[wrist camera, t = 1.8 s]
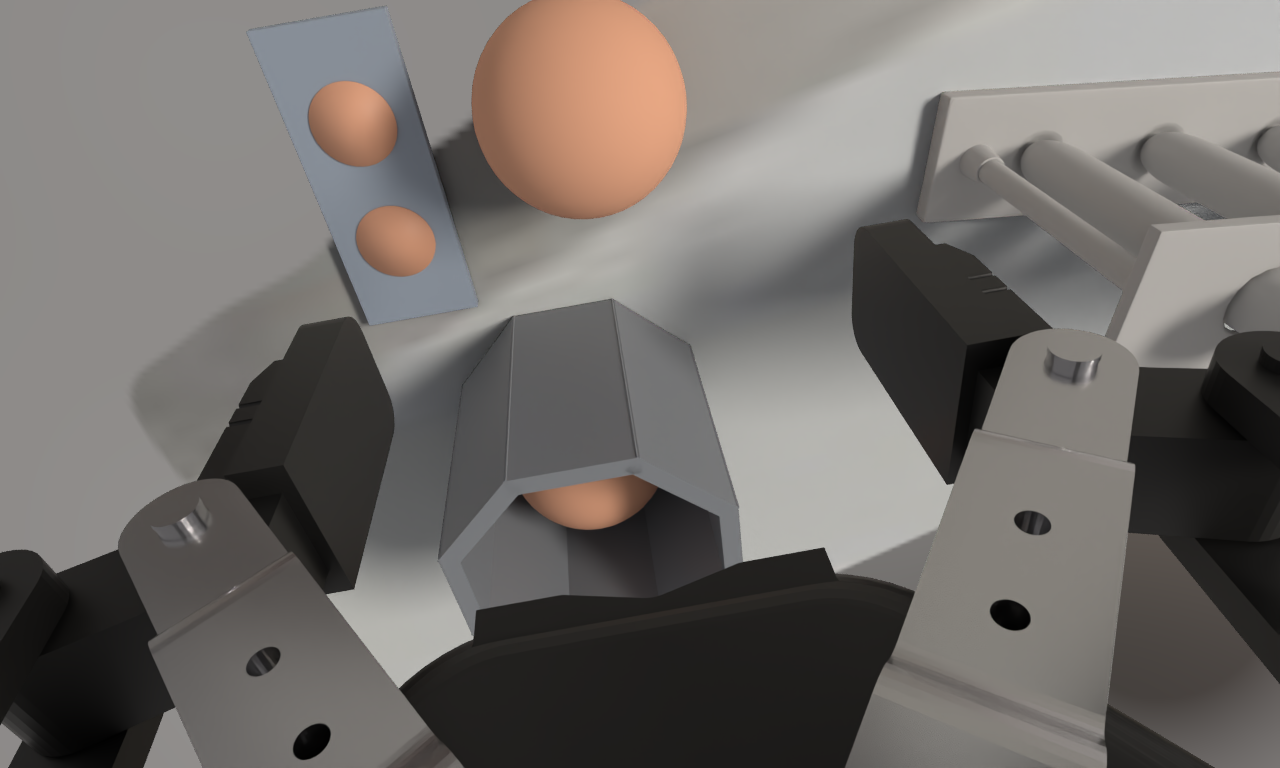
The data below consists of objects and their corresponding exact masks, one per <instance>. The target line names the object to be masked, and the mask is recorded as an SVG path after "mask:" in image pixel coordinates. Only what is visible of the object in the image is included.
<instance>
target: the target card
mask: <svg viewBox="0 0 1280 768" xmlns="http://www.w3.org/2000/svg"><path fill="white" fill-rule="evenodd" d="M246 33H247V35H248V37H249V40H250V42H251V45H252V47H253V49H254V52H255V54H256V57H257V59H258V61H259V64H260V66H261V68H262V71H263V73H264V76H265V78H266V80H267V83H268V85H269V88H270V90H271V92H272V95H273V97H274V99H275V102H276V104H277V106H278V109H279V111H280V113H281V116H282V118H283V121H284V123H285V125H286V128H287V130H288V133H289V135H290V137H291V140H292V142H293V145H294V147H295V149H296V152H297V154H298V156H299V159H300V161H301V164H302V166H303V168H304V171H305V173H306V175H307V178H308V180H309V183H310V185H311V187H312V189H313V192H314V194H315V197H316V199H317V202H318V204H319V206H320V209H321V211H322V213H323V216H324V218H325V221H326V223H327V225H328V228H329V230H330V233H331V235H332V237H333V240H334V242H335V244H336V247H337V249H338V252H339V254H340V256H341V259H342V261H343V263H344V266H345V268H346V271H347V273H348V275H349V278H350V280H351V282H352V285H353V287H354V290H355V292H356V294H357V297H358V299H359V301H360V304H361V306H362V309H363V311H364V313H365V316H366V318H367V320H368V323H369V325H376V324H382V323H387V322H393V321H399V320H404V319H410V318H416V317H421V316H427V315H433V314H438V313H444V312H450V311H455V310H461V309H467V308H472V307H478V298H477V295H476V292H475V289H474V286H473V282H472V279H471V276H470V273H469V269H468V266H467V263H466V260H465V256H464V253H463V250H462V247H461V244H460V240H459V237H458V234H457V231H456V227H455V224H454V221H453V218H452V214H451V211H450V208H449V205H448V202H447V198H446V195H445V192H444V189H443V185H442V182H441V179H440V176H439V172H438V169H437V166H436V163H435V160H434V156H433V153H432V150H431V147H430V143H429V140H428V137H427V134H426V130H425V127H424V124H423V121H422V118H421V114H420V111H419V108H418V105H417V102H416V99H415V95H414V92H413V89H412V85H411V82H410V79H409V76H408V72H407V69H406V66H405V63H404V60H403V56H402V53H401V50H400V47H399V44H398V40H397V37H396V34H395V30H394V27H393V24H392V21H391V18H390V14H389V11H388V8H387V6H382V7H375V8H369V9H364V10H358V11H352V12H346V13H340V14H335V15H329V16H323V17H317V18H312V19H306V20H300V21H294V22H288V23H283V24H277V25H271V26H265V27H260V28H255V29H250V30H249V31H247V32H246Z"/></svg>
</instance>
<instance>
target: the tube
mask: <svg viewBox="0 0 1280 768" xmlns="http://www.w3.org/2000/svg"><path fill="white" fill-rule="evenodd" d="M627 475H635V476H637V477H639V478H641V479H643V480H645V481H647V482H649V483H651V484H653V485H655V486H657V487H658V488H657V490H656V492H655V493H654V495H653V496H652V498H651V499H650V500H649V501H648V502H647V503H646V505H645V506H644V507H643V508H642V509H641V510H640V511H638V512H637V513H636V514H634V515H633V516H631V517H630V518H628V519H627V520H625V521H623V522H621V523H619V524H616V525H613V526H610V527H606V528H602V529H593V530H583V529H574V528H569V527H566V526H563V525H560V524H557V523H555V522H553V521H551V520H549V519H547V518H546V517H544V516H543V515H541V514H540V513H539V512H538V511H537V510H535V509H534V508H533V507H532V506H531V505H530V504H529V502H528V501H527V500H526V499H525V498H524V496H523V495H522V494H526V493H532V492H538V491H543V490H549V489H554V488H560V487H566V486H571V485H577V484H583V483H588V482H594V481H599V480H605V479H611V478H616V477H622V476H627ZM738 509H739V505H738V501H737V498H736V495H735V491H734V488H733V485H732V481H731V478H730V475H729V472H728V468H727V465H726V462H725V458H724V455H723V452H722V448H721V445H720V442H719V438H718V435H717V432H716V428H715V425H714V422H713V418H712V415H711V412H710V408H709V405H708V402H707V398H706V395H705V392H704V388H703V385H702V382H701V378H700V375H699V372H698V368H697V365H696V362H695V359H694V355H693V352H692V349H691V346H690V344H687V343H685V342H684V341H682V340H680V339H679V338H677V337H675V336H674V335H672V334H670V333H669V332H667V331H665V330H664V329H662V328H660V327H659V326H657V325H655V324H654V323H652V322H650V321H649V320H647V319H645V318H644V317H642V316H640V315H639V314H637V313H635V312H634V311H632V310H630V309H629V308H627V307H625V306H624V305H622V304H620V303H619V302H617V301H615V300H614V299H610V300H604V301H599V302H593V303H587V304H582V305H576V306H570V307H565V308H559V309H553V310H548V311H542V312H536V313H531V314H525V315H519V316H513V317H512V319H511V320H510V322H509V323H508V324H507V326H506V327H505V328H504V330H503V331H502V333H501V334H500V335H499V337H498V338H497V339H496V341H495V342H494V343H493V345H492V346H491V348H490V349H489V350H488V352H487V353H486V354H485V356H484V357H483V358H482V360H481V361H480V362H479V364H478V365H477V367H476V368H475V369H474V371H473V372H472V373H471V375H470V376H469V377H468V379H467V380H466V382H465V383H464V384H463V385H462V391H461V398H460V405H459V412H458V419H457V426H456V434H455V441H454V448H453V455H452V462H451V469H450V477H449V484H448V491H447V498H446V505H445V512H444V519H443V527H442V534H441V541H440V548H439V555H438V562H439V563H440V565H441V568H442V570H443V572H444V574H445V576H446V579H447V581H448V583H449V585H450V587H451V589H452V592H453V594H454V596H455V598H456V600H457V603H458V605H459V607H460V609H461V611H462V614H463V616H464V618H465V620H466V622H467V624H468V627H469V629H470V631H471V635H473V636H474V629H475V617H476V610H480V609H486V608H491V607H497V606H502V605H508V604H513V603H519V602H524V601H530V600H536V599H541V598H547V597H552V596H558V595H581V596H607V597H633V598H651V597H657V596H660V595H663V594H665V593H667V592H670V591H672V590H675V589H677V588H679V587H682V586H684V585H687V584H689V583H692V582H694V581H696V580H699V579H701V578H704V577H706V576H708V575H711V574H713V573H716V572H718V571H720V570H723V569H725V568H728V567H730V566H733V565H735V564H737V563H741V562H743V558H742V546H741V534H740V522H739V510H738Z"/></svg>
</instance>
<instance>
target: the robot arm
mask: <svg viewBox="0 0 1280 768" xmlns="http://www.w3.org/2000/svg"><path fill="white" fill-rule="evenodd" d="M852 324H853V330H854V335H855V338H856V342H857V344H858V347H859V349H860V351H861V353H862V354H863V356H864V357H865V359H866V360H867V362H868V363H869V365H870V366H871V368H872V370H873V371H874V373H875V374H876V376H877V377H878V379H879V380H880V382H881V384H882V385H883V387H884V388H885V390H886V391H887V393H888V394H889V396H890V397H891V399H892V401H893V402H894V404H895V405H896V407H897V408H898V410H899V411H900V413H901V414H902V416H903V418H904V419H905V421H906V422H907V424H908V425H909V427H910V428H911V430H912V431H913V433H914V435H915V436H916V438H917V439H918V441H919V442H920V444H921V445H922V447H923V448H924V450H925V452H926V453H927V455H928V456H929V458H930V459H931V461H932V462H933V464H934V466H935V467H936V469H937V470H938V472H939V473H940V475H941V476H942V478H943V479H944V481H945V483H946V484H947V485H948V484H954V486H953V489H952V491H951V494H950V497H949V500H948V502H947V505H946V508H945V511H944V513H943V516H942V519H941V522H940V525H939V527H938V530H937V533H936V536H935V538H934V541H933V544H932V547H931V550H930V552H929V555H928V558H927V561H926V563H925V566H924V569H923V572H922V575H921V577H920V580H919V583H918V586H917V588H916V591H913V590H910V589H907V588H905V587H902V586H898V585H896V584H893V583H890V582H885V581H882V580H877V579H873V578H868V577H862V576H854V575H848V574H835V573H834V570H833V568H832V565H831V563H830V560H829V558H828V555H827V553H826V551H825V548H819V549H813V550H808V551H802V552H796V553H791V554H785V555H780V556H774V557H769V558H763V559H758V560H752V561H746V562H741V563H737V564H735V565H733V566H730V567H728V568H725V569H723V570H720V571H718V572H716V573H713V574H711V575H708V576H706V577H704V578H701V579H699V580H696V581H694V582H692V583H689V584H687V585H684V586H682V587H679V588H677V589H675V590H672V591H670V592H667V593H665V594H663V595H660V596H657V597H651V598H633V597H607V596H581V595H558V596H552V597H547V598H541V599H536V600H530V601H524V602H519V603H513V604H508V605H502V606H497V607H491V608H486V609H480V610H476V617H475V629H474V639H473V640H471V641H468V642H466V643H464V644H462V645H460V646H458V647H456V648H454V649H453V650H451V651H449V652H447V653H445V654H443V655H442V656H440V657H439V658H437V659H436V660H434V661H433V662H431V663H430V664H428V665H427V666H425V667H424V668H422V669H421V670H420V671H419V672H417V673H416V674H415V675H414V676H412V677H411V678H410V679H409V680H408V681H406V682H405V683H404V684H403V685H402V686H401V687H400V688H398V687H397V686H396V685H395V683H394V682H393V681H392V679H391V678H390V677H389V676H388V674H387V673H386V672H385V670H384V669H383V668H382V666H381V665H380V664H379V663H378V661H377V660H376V659H375V657H374V656H373V655H372V654H371V652H370V651H369V650H368V648H367V647H366V646H365V645H364V643H363V642H362V641H361V639H360V638H359V637H358V635H357V634H356V633H355V632H354V630H353V629H352V628H351V626H350V625H349V624H348V623H347V621H346V620H345V619H344V617H343V616H342V615H341V613H340V612H339V611H338V610H337V608H336V607H335V606H334V604H333V603H332V602H331V601H330V599H329V598H328V597H327V595H326V594H330V593H336V592H341V591H347V590H353V589H354V587H355V583H356V579H357V575H358V572H359V568H360V564H361V560H362V556H363V552H364V548H365V544H366V540H367V536H368V532H369V528H370V524H371V520H372V516H373V512H374V508H375V504H376V500H377V497H378V493H379V489H380V485H381V481H382V477H383V473H384V469H385V465H386V461H387V457H388V453H389V449H390V445H391V441H392V437H393V433H394V413H393V407H392V403H391V399H390V396H389V394H388V391H387V389H386V386H385V384H384V382H383V379H382V377H381V375H380V372H379V370H378V368H377V365H376V363H375V360H374V358H373V356H372V353H371V351H370V349H369V346H368V344H367V342H366V339H365V337H364V335H363V332H362V330H361V328H360V326H359V324H358V323H357V322H356V320H355V319H354V318H352V317H344V318H338V319H333V320H327V321H321V322H316V323H310V324H304V325H302V326H300V328H299V329H298V331H297V333H296V335H295V337H294V339H293V341H292V343H291V345H290V347H289V349H288V351H287V353H286V355H285V356H284V358H283V360H278V361H274V362H273V363H272V364H271V365H270V366H268V367H267V368H266V369H265V370H264V371H263V372H262V373H261V374H260V375H259V376H257V377H256V378H255V379H254V380H253V381H252V382H251V383H250V385H249V387H248V388H247V390H246V392H245V394H244V396H243V398H242V399H241V401H240V403H239V409H236V410H235V412H234V414H233V416H232V418H231V419H230V421H229V425H230V427H226V429H225V430H224V432H223V434H222V436H221V438H220V440H219V441H218V443H217V445H216V447H215V449H214V450H213V452H212V454H211V456H210V458H209V460H208V461H207V463H206V465H205V467H204V469H203V471H202V472H201V474H200V476H199V478H198V480H197V481H194V482H191V483H188V484H185V485H182V486H180V487H177V488H175V489H173V490H171V491H169V492H167V493H165V494H163V495H161V496H160V497H158V498H156V499H155V500H153V501H152V502H150V503H149V504H148V505H146V506H145V507H144V508H143V509H141V510H140V511H139V512H138V513H137V514H136V515H135V516H134V517H133V518H132V519H131V520H130V522H129V523H128V524H127V525H126V527H125V528H124V530H123V532H122V533H121V536H120V539H119V542H118V550H116V551H113V552H110V553H108V554H105V555H103V556H100V557H98V558H95V559H93V560H90V561H88V562H85V563H82V564H80V565H77V566H75V567H72V568H70V569H67V570H64V571H62V572H59V573H57V574H56V573H55V572H54V571H53V570H52V569H51V568H50V567H49V565H48V564H47V563H46V562H45V561H44V560H43V559H42V558H41V557H40V556H39V555H38V554H37V553H35V552H33V551H29V550H12V551H6V552H2V553H0V725H1V723H2V724H3V725H5V726H6V727H7V728H8V729H9V730H11V731H12V732H13V733H14V734H15V735H17V736H18V737H19V738H20V739H22V740H23V741H22V743H21V745H20V747H19V749H18V750H17V752H16V754H15V756H14V758H13V760H12V762H11V764H10V765H9V767H8V768H143V767H144V764H145V762H146V759H147V756H148V753H149V751H150V748H151V746H152V743H153V740H154V738H155V735H156V733H157V730H158V727H159V725H160V722H161V719H162V717H163V713H164V712H166V711H168V710H171V709H173V708H175V707H176V709H177V712H178V714H179V716H180V718H181V721H182V723H183V725H184V727H185V729H186V731H187V734H188V736H189V738H190V741H191V743H192V745H193V747H194V750H195V752H196V754H197V756H198V759H199V761H200V763H201V765H202V767H203V768H1214V767H1213V766H1211V765H1209V764H1208V763H1206V762H1204V761H1203V760H1201V759H1199V758H1198V757H1196V756H1194V755H1193V754H1191V753H1189V752H1188V751H1186V750H1184V749H1183V748H1181V747H1179V746H1178V745H1176V744H1174V743H1173V742H1171V741H1169V740H1167V739H1166V738H1164V737H1162V736H1161V735H1159V734H1157V733H1156V732H1154V731H1153V730H1150V729H1149V728H1148V727H1146V726H1144V725H1142V724H1141V723H1139V722H1137V721H1136V720H1134V719H1132V718H1131V717H1129V716H1127V715H1126V714H1124V713H1122V712H1121V711H1119V710H1117V709H1116V708H1114V707H1112V706H1111V705H1109V704H1107V701H1108V693H1109V685H1110V677H1111V668H1112V660H1113V651H1114V643H1115V635H1116V626H1117V618H1118V610H1119V602H1120V593H1121V585H1122V577H1123V569H1124V560H1125V551H1126V544H1127V535H1128V533H1141V534H1153V535H1159V536H1160V538H1161V539H1162V540H1163V541H1164V543H1165V544H1166V545H1167V546H1168V548H1169V549H1170V550H1171V551H1172V553H1173V554H1174V555H1175V556H1176V557H1177V559H1178V560H1179V561H1180V562H1181V563H1182V565H1183V566H1184V567H1185V568H1186V570H1187V571H1188V572H1189V573H1190V574H1191V576H1192V577H1193V578H1194V579H1195V581H1196V582H1197V583H1198V584H1199V586H1200V587H1201V588H1202V589H1203V590H1204V592H1205V593H1206V594H1207V595H1208V597H1209V598H1210V599H1211V600H1212V601H1213V603H1214V604H1215V605H1216V606H1217V608H1218V609H1219V610H1220V611H1221V613H1222V614H1223V615H1224V616H1225V617H1226V619H1227V620H1228V621H1229V622H1230V623H1231V625H1232V626H1233V627H1234V628H1235V630H1236V631H1237V632H1238V633H1239V635H1240V636H1241V637H1242V638H1243V639H1244V641H1245V642H1246V643H1247V644H1248V645H1249V647H1250V648H1251V649H1252V650H1253V652H1254V653H1255V654H1256V655H1257V656H1258V658H1259V659H1260V660H1261V662H1263V664H1264V665H1265V666H1266V667H1267V669H1268V670H1269V671H1270V672H1271V674H1272V675H1273V676H1274V677H1275V678H1276V680H1277V681H1278V682H1279V683H1280V332H1277V331H1250V332H1243V333H1238V334H1234V335H1231V336H1228V337H1227V338H1225V339H1223V340H1222V341H1221V342H1220V343H1218V344H1217V346H1216V348H1215V351H1214V353H1213V356H1212V359H1211V361H1210V364H1209V367H1208V369H1199V368H1155V367H1139V364H1138V362H1137V359H1136V358H1135V357H1134V355H1133V354H1132V353H1131V352H1130V351H1129V350H1128V349H1127V348H1125V347H1124V346H1122V345H1121V344H1119V343H1117V342H1115V341H1113V340H1111V339H1109V338H1107V337H1104V336H1101V335H1098V334H1095V333H1091V332H1086V331H1081V330H1074V329H1053V328H1052V327H1051V326H1050V325H1048V324H1047V323H1046V322H1045V321H1044V320H1043V319H1042V318H1041V317H1040V316H1039V315H1038V314H1037V313H1035V312H1034V311H1033V310H1032V309H1031V308H1030V307H1029V306H1028V305H1027V304H1026V303H1025V302H1024V301H1022V300H1021V299H1020V298H1019V297H1018V296H1017V295H1016V294H1015V293H1014V292H1013V291H1012V290H1011V289H1010V290H1007V286H1006V285H1005V284H1004V283H1003V282H1002V281H1001V280H1000V279H999V278H998V277H996V276H992V272H991V271H990V270H989V269H988V268H987V267H986V266H985V265H983V264H982V263H981V262H980V261H979V260H978V259H977V258H976V257H975V256H974V255H971V254H969V253H967V252H964V251H962V250H959V249H957V248H955V247H952V246H950V245H948V244H945V243H944V244H939V245H935V244H934V243H933V242H932V241H931V240H930V239H929V238H928V237H927V236H926V235H925V234H924V233H922V232H921V231H920V230H919V229H918V228H917V227H916V226H915V225H914V224H913V223H912V222H911V221H910V220H908V219H904V220H898V221H893V222H887V223H881V224H876V225H870V226H864V227H860V228H859V229H858V230H857V232H856V235H855V241H854V263H853V293H852Z"/></svg>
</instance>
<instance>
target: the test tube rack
mask: <svg viewBox="0 0 1280 768" xmlns="http://www.w3.org/2000/svg"><path fill="white" fill-rule="evenodd" d="M1186 203H1199V204H1200V205H1202V206H1204V207H1206V208H1208V209H1210V210H1211V211H1213V212H1215V213H1217V214H1219V215H1220V216H1222V217H1224V218H1226V219H1218V220H1203V219H1201V218H1200V217H1198V216H1196V215H1194V214H1193V213H1191V212H1189V211H1187V210H1186V209H1184V208H1182V207H1180V206H1179V205H1177V204H1186ZM916 215H917V216H918V217H919V218H920V219H921V220H922V221H923V222H925V223H929V222H943V221H957V220H970V219H983V218H997V217H1010V216H1024V215H1025V216H1027V217H1028V218H1029V219H1031V220H1032V221H1033V222H1034V223H1036V224H1037V225H1038V226H1040V227H1041V228H1042V229H1044V230H1045V231H1046V232H1047V233H1049V234H1050V235H1051V236H1053V237H1054V238H1055V239H1057V240H1058V241H1059V242H1060V243H1062V244H1063V245H1064V246H1066V247H1067V248H1068V249H1069V250H1071V251H1072V252H1073V253H1075V254H1076V255H1077V256H1079V257H1080V258H1081V259H1082V260H1084V261H1085V262H1086V263H1088V264H1089V265H1090V266H1091V267H1093V268H1094V269H1095V270H1097V271H1098V272H1099V273H1101V274H1102V275H1103V276H1104V277H1106V278H1107V279H1108V280H1110V281H1111V282H1112V283H1113V284H1115V285H1116V286H1117V287H1119V288H1120V289H1121V290H1122V296H1121V298H1120V301H1119V303H1118V305H1117V308H1116V310H1115V313H1114V315H1113V318H1112V320H1111V323H1110V325H1109V328H1108V330H1107V333H1106V335H1105V337H1107V338H1109V339H1111V340H1113V341H1115V342H1117V343H1119V344H1121V345H1122V346H1124V347H1125V348H1127V349H1128V350H1129V351H1130V352H1131V353H1132V354H1133V355H1134V357H1135V358H1136V359H1137V362H1138V364H1139V367H1155V368H1199V369H1208V367H1209V364H1210V361H1211V359H1212V356H1213V353H1214V351H1215V348H1216V346H1217V344H1218V343H1220V342H1221V341H1222V340H1223V339H1225V338H1227V337H1228V336H1231V335H1234V334H1238V333H1243V332H1250V331H1277V332H1280V72H1264V73H1247V74H1231V75H1214V76H1198V77H1181V78H1165V79H1149V80H1132V81H1116V82H1099V83H1083V84H1066V85H1050V86H1033V87H1016V88H999V89H982V90H965V91H950V92H942V93H941V96H940V101H939V105H938V110H937V115H936V120H935V125H934V130H933V135H932V140H931V145H930V150H929V155H928V160H927V165H926V169H925V174H924V179H923V184H922V189H921V193H920V198H919V203H918V208H917V214H916ZM1224 323H1225V324H1227V325H1228V326H1230V327H1231V328H1233V329H1234V330H1235V331H1234V330H1229V329H1227V328H1225V327H1224Z"/></svg>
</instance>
